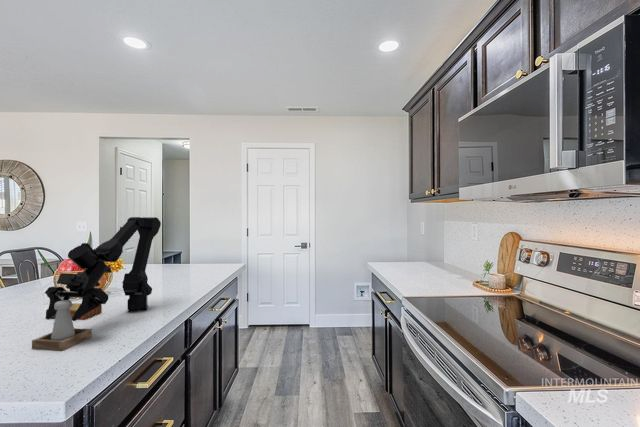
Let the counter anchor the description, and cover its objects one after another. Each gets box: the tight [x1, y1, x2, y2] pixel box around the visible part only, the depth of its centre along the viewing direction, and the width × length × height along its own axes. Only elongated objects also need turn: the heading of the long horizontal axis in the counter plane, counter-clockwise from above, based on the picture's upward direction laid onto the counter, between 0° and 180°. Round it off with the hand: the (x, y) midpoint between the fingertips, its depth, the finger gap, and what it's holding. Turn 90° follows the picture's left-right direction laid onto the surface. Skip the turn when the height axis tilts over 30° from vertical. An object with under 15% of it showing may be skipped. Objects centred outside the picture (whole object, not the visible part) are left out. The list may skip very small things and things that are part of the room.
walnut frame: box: [31, 327, 93, 352], centre depth 97 cm, size 10×10×2 cm
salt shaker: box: [51, 299, 75, 341], centre depth 97 cm, size 6×6×13 cm
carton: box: [45, 303, 103, 321], centre depth 122 cm, size 8×16×4 cm, turn 86°
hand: (59, 319), depth 96 cm, fingers open, 9 cm apart
